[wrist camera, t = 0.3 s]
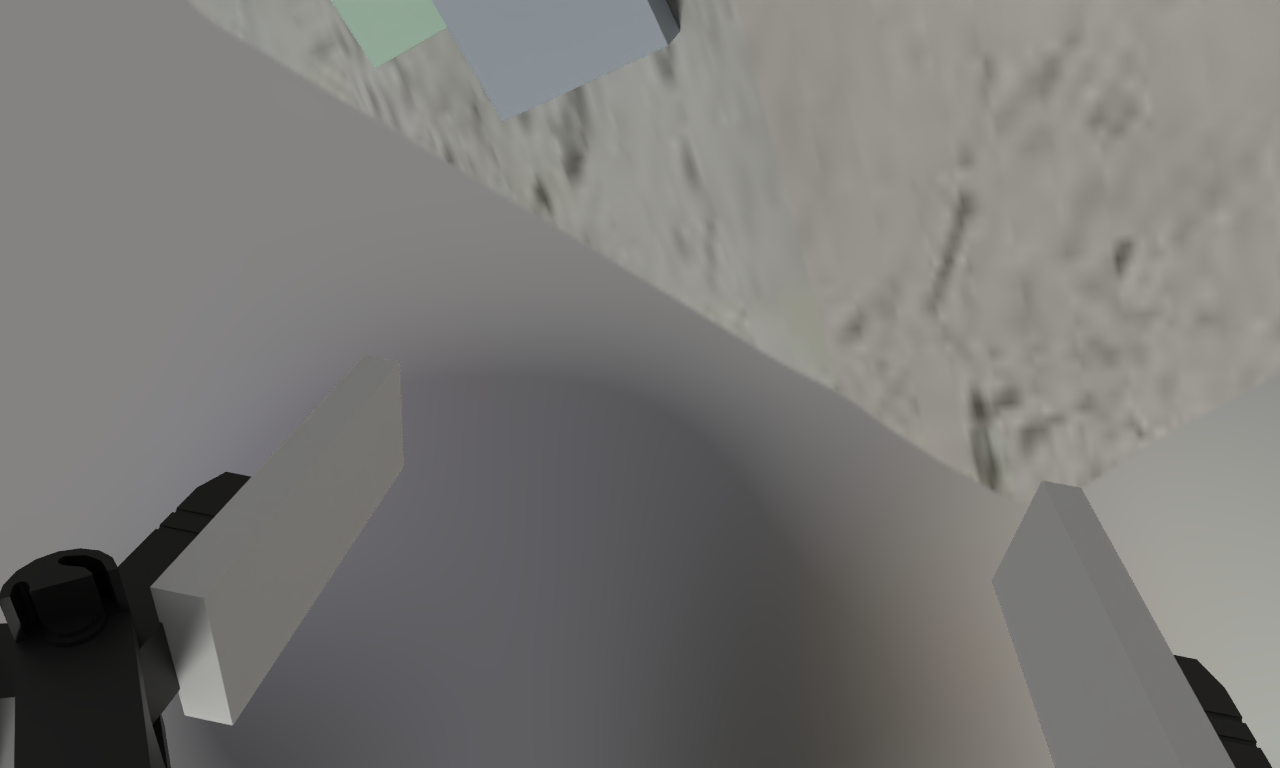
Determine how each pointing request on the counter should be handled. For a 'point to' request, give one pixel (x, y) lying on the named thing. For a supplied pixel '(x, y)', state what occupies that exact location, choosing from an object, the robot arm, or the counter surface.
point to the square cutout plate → (551, 43)
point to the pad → (389, 25)
